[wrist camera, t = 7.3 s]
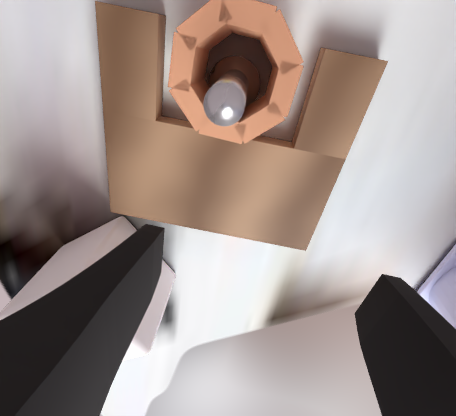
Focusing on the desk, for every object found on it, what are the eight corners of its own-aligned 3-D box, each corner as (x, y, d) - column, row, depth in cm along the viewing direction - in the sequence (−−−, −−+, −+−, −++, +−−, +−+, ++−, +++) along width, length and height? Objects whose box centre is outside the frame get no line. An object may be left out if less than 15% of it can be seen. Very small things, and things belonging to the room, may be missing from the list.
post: (265, 61, 14) (268, 72, 10) (253, 115, 16) (251, 147, 11) (213, 50, 14) (191, 57, 10) (206, 105, 16) (185, 133, 11)
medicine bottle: (62, 244, 23) (-93, 407, 13) (124, 212, 21) (-6, 382, 10) (118, 297, 26) (29, 463, 16) (178, 274, 24) (118, 453, 13)
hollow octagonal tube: (301, 28, 13) (319, 17, 10) (270, 132, 16) (275, 152, 12) (198, 1, 13) (179, -20, 10) (183, 110, 16) (163, 124, 12)
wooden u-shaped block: (378, 59, 14) (387, 61, 13) (303, 239, 20) (305, 250, 19) (107, 3, 14) (94, 1, 13) (117, 203, 20) (110, 211, 19)
